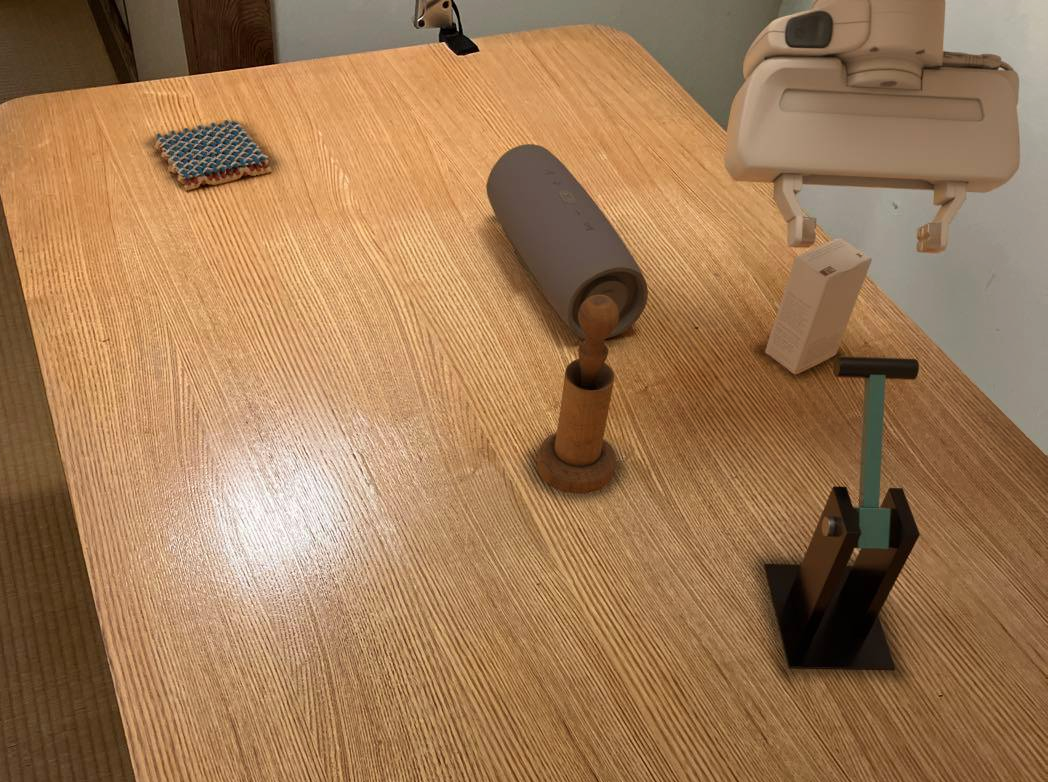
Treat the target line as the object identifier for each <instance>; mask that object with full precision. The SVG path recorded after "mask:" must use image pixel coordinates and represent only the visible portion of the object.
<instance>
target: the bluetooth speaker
mask: <svg viewBox="0 0 1048 782" xmlns="http://www.w3.org/2000/svg"><path fill="white" fill-rule="evenodd" d="M577 179H578V178H576V177H575V176H574V175H573V173H572V172H571V171H570V170H569V169H568V168H567V166H565V164H564V163H563V162H562V161H561V160H560V159H559V158H558V157H557V156H556V155H554V154H553V153H552V152H551V151H550V150H549V149H547V148H546V147H544V146H542V145H539V144H534V143H526V144H521V145H517V146H515V147H512V148H510V149H509V150H507V151H505V152H504V153H503V154H502V155H501V156H500V157H499V158H498V159H497V161H496V162H495V163H494V165H493V166H492V168H491V170H490V172H489V175H488V178H487V182H486V195H487V198H488V201H489V204H490V206H491V209H492V212H493V214H494V215H495V217H496V219H497V221H498V223H499V225H500V227H501V229H502V231H503V232H504V234H505V236H506V238H507V240H508V241H509V243H510V245H511V247H512V248H513V251H514V254H515V255H516V258H517V260H518V261H519V262H520V264H521V265H522V267H523V268H524V270H525V272H526V273H527V275H528V276H529V278H530V279H531V280H532V281H533V282H534V284H535V285H536V287H537V288H538V289H539V291H540V292H541V294H542V295H543V297H544V298H545V300H546V301H548V303H549V304H550V306H551V307H552V309H553V310H554V311H555V313H556V314H557V315H558V317H559V318H560V319H561V320H562V322H563V323H564V324H565V326H567V327H568V328H569V330H571V331H572V333H574V335H575V336H576V337H578V338H580V339H582V340H585V339H586V335H585V334H584V332H583V330H582V328H581V326H580V323H579V320H578V313H579V309H580V307H581V305H582V303H583V302H584V301H585V300H586V299H587V298H589V297H590V296H593V295H605V296H608V297H610V298H611V299H612V300H613V301H614V302H615V303H616V305H617V307H618V310H619V321H618V324H617V326H616V327H615V329H614V330H613V331H612V332H611V333H610V334H609V335H608V336H607V337H606V338H605V340H606V339H611V338H614V337H616V336H618V335H621V334H622V333H624V332H626V331H627V330H628V329H630V328H631V327H632V326H633V325H634V324H635V323H636V322H637V321H638V320H639V319H640V317H641V316H642V314H643V312H644V310H645V309H646V306H647V303H648V299H649V292H648V291H649V290H648V283H647V280H646V279H645V277H644V275H643V271H642V270H641V268H640V266H639V264H638V263H637V261H636V259H635V257H634V256H633V255H632V253H631V251H630V250H629V249H628V247H627V245H626V244H625V243H624V241H623V240H622V238H621V237H620V235H619V233H618V232H617V230H616V229H615V228H614V226H613V225H612V223H611V222H610V220H609V219H608V218H607V216H606V215H605V213H604V212H603V211H602V209H601V208H600V207H599V206H598V204H597V203H596V201H595V200H594V199H593V197H591V195H590V194H589V192H588V191H587V190H586V189H585V188H584V187H583V185H582V184H581V183H580V181H578V180H577Z"/></svg>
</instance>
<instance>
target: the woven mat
mask: <svg viewBox="0 0 1048 782" xmlns="http://www.w3.org/2000/svg"><path fill="white" fill-rule="evenodd" d="M223 121H224V124H222V123H218V125H216V123H215V122H211V123H210V126H211V127H212V128H211V127H210V126H204V128H203V126H202V125H201V124H200V125H197V128H198V129H195V128H192V129H191V130H189V128H188V127H185V128H183V131H184V132H185V133H184V132H182V131H177V134H176V132H175V130H170V134H171V135H172V136H171V135H169V134H164V136H163V137H162V135H161V133H159V132H158V133H156V137H157V139H158V140H157V141H156V143H155V145H154V148H155V149H156V150H158V151H161V155H160V157H161V158H162V159H164V160H165V161H167V164H168V166H167V170H168V173H172V174H177V181H178V182H179V183H180V184H182V185H183V188H184V190H185V192H188V191H190V190H195V189H198V188H200V186H201V185H202V186H204V185H210V186H211V185H213V186H215V185H221V184H224V183H225V184H226V183H229V182H234V180H235V181H237V180H238V179H241V177H246V176H248V175H249V176H253V177H256V175H258V176H261V175H260V174H262V175H266V174H265V173H267V174H270V173H269V172H271V173H272V172H273V170H272V167H271V166H268V164H269V160H268V158H269V157H268V155H266V154H264V153H263V152H262V149H259V148H260V145H257V143H255V142H254V141H253V138H252V137H250V135H249V134H247V132H246V131H245V130H244V128H242V125H241V124H240V123H238V121H234V120H232V121H231V123H230V122H229V120H228V119H225V120H223ZM225 125H226V126H225ZM198 130H199V131H198ZM187 190H188V191H187Z"/></svg>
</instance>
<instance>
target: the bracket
mask: <svg viewBox="0 0 1048 782" xmlns="http://www.w3.org/2000/svg"><path fill="white" fill-rule="evenodd" d="M850 496H851V495H850V493H849V490H848V487H847V486H840V485H839V486H836V485H835V486H832V488H831V490H830V493H829V494H828V497H827V500H826V502H825V505H824V507H823V510H822V512H821V515H820V517H819V520H818V522H817V524H816V526H815V529H814V531H813V534H812V537H811V539H810V541H809V544H808V546H807V549H806V550H805V554H804V556H803V558H802V561H801V563H800V564H797V563H795V564H793V563H764V564H763V568H764V573H765V576H766V580H767V585H768V589H769V593H770V597H771V601H772V606H773V611H774V614H775V618H776V622H777V626H778V631H779V635H780V639H781V644H782V647H783V651H784V655H785V661H786V664H787V669H790V670H841V671H843V670H845V671H848V670H849V671H896V666H895V664H894V661H893V656H892V653H891V651H890V648H889V643H888V642H887V638H886V635H885V632H884V629H883V626H882V623H881V620H880V616H879V614H880V612H881V611H882V609H883V608H884V605H885V603H886V601H887V599H888V597H889V595H890V593H891V591H892V590H893V587H894V585H895V584H896V582H897V580H898V578H899V576H900V574H901V572H902V570H903V568H904V566H905V564H906V562H907V561H908V559H909V557H910V555H911V553H912V551H913V549H914V548H915V546H916V543H917V541H918V539H919V538H920V535H921V533H920V531H919V528H918V525H917V523H916V520H915V517H914V514H913V512H912V510H911V507H910V504H909V502H908V499H907V496H906V493H905V491H904V489H903V487H888V489H887V492H886V493H885V496H884V499H883V500H882V502H881V504H880V505H879V508H890V509H891V513H890V532H889V549H859V552H858V553H857V556H856V558H855V560H854V562H853V564H852V565H848V563H849V561H850V559H851V557H852V556H853V553H854V551H855V549H856V548H855V546H856V544H857V542H858V540H859V538H860V535H861V530H860V527H859V524H858V521H857V518H856V515H855V511H854V508H853V507H854V505H853V503H852V500H851V499H852V498H851V497H850Z"/></svg>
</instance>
